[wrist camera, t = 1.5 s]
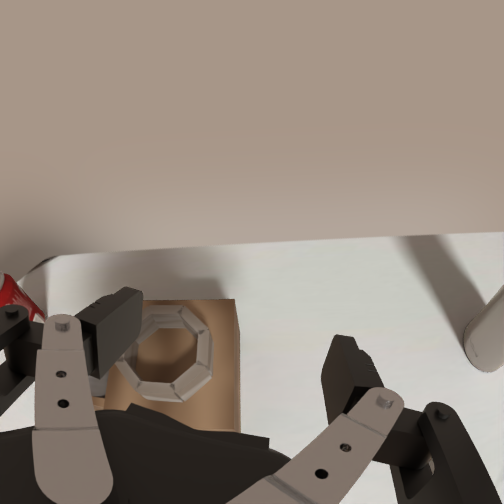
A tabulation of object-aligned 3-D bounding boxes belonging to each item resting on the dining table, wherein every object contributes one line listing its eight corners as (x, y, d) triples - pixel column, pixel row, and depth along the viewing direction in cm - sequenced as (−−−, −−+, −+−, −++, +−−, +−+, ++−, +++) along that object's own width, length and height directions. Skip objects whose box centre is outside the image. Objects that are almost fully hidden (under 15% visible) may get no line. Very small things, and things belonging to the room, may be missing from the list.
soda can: (54, 324, 39) (12, 278, 30) (30, 354, 35) (-17, 313, 26) (36, 305, 41) (-2, 259, 32) (14, 332, 38) (-29, 290, 29)
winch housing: (239, 332, 38) (231, 282, 30) (240, 438, 29) (230, 424, 21) (107, 330, 39) (71, 285, 31) (91, 423, 29) (40, 398, 21)
